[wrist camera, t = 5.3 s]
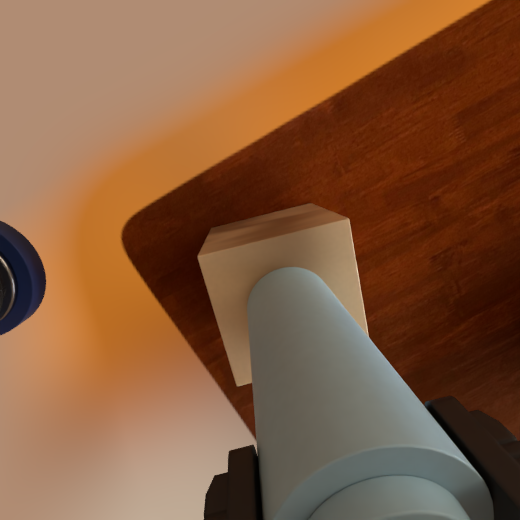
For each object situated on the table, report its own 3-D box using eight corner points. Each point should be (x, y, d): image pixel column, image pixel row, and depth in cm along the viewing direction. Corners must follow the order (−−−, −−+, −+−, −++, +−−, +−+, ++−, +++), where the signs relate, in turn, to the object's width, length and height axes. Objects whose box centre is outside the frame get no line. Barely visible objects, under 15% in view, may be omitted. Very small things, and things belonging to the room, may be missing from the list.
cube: (237, 319, 31) (236, 386, 21) (210, 228, 28) (196, 256, 18) (329, 296, 31) (371, 353, 21) (311, 202, 28) (349, 217, 18)
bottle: (258, 354, 20) (310, 798, 6) (237, 278, 19) (238, 614, 5) (338, 334, 20) (586, 727, 6) (323, 257, 19) (597, 522, 5)
